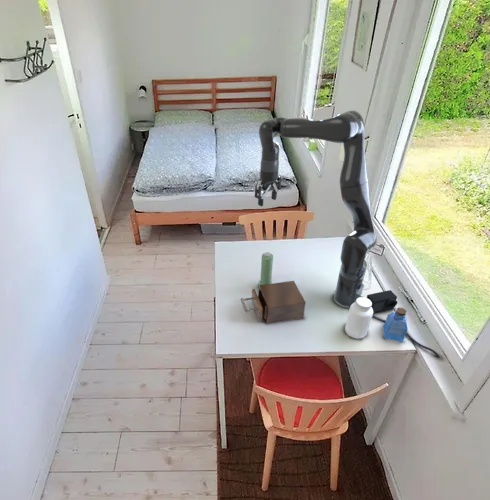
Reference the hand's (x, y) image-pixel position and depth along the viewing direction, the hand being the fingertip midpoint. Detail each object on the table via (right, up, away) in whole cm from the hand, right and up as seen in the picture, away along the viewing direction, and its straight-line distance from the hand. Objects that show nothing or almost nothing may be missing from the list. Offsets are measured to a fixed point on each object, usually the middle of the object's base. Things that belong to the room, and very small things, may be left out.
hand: (267, 202), depth 168 cm
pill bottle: (+29, -52, -25) cm, 64 cm away
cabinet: (+3, -45, -14) cm, 47 cm away
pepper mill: (-1, -37, -3) cm, 37 cm away
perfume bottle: (+43, -52, -26) cm, 73 cm away
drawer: (-3, -45, -15) cm, 48 cm away
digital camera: (+42, -45, -16) cm, 64 cm away
